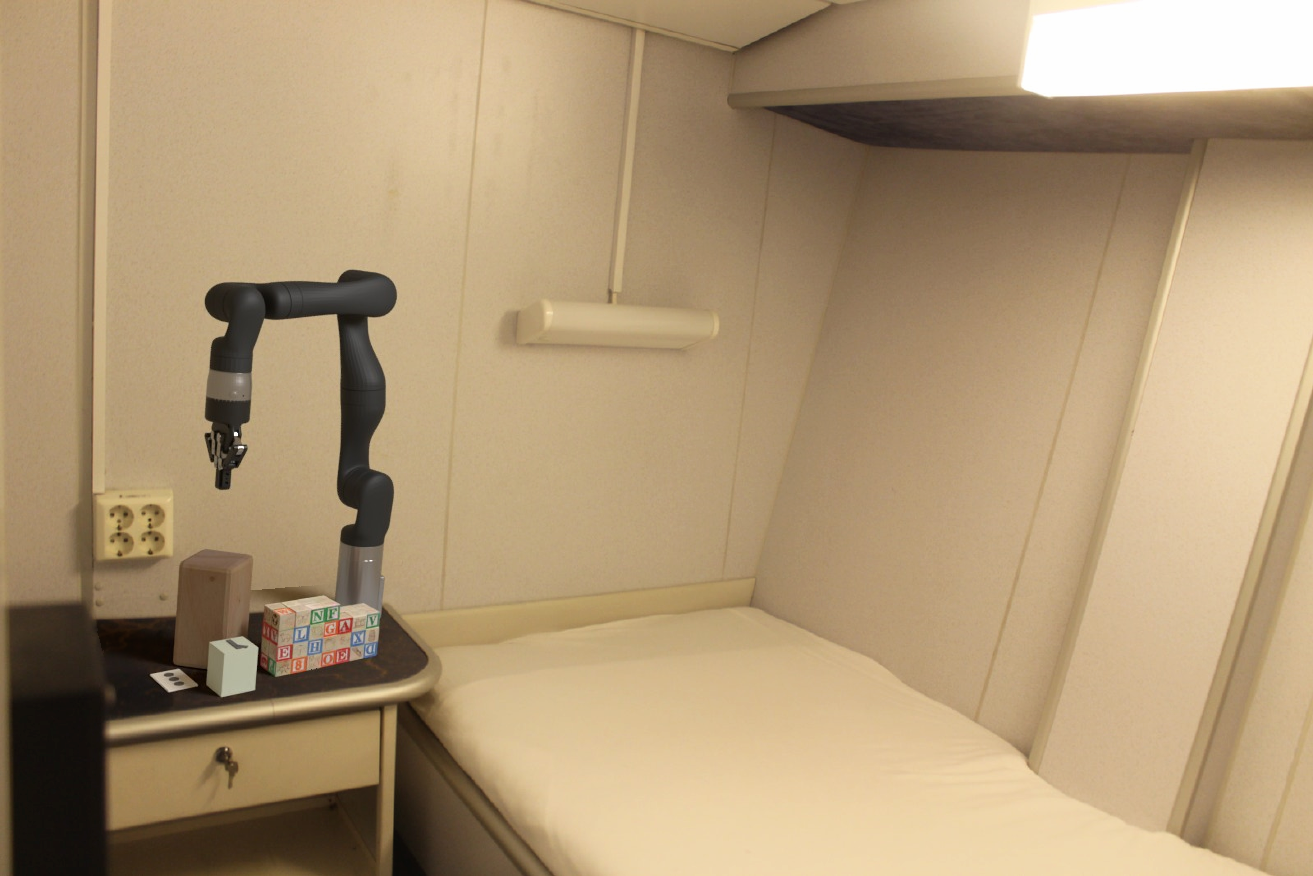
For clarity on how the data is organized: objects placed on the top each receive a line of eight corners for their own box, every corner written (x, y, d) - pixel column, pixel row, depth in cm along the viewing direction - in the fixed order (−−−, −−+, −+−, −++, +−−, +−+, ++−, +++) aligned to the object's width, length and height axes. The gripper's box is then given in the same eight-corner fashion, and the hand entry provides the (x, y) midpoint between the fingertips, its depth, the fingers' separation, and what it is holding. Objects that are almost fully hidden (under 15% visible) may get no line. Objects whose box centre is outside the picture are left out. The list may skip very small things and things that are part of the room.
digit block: (239, 678, 179) (242, 635, 177) (255, 690, 175) (258, 646, 173) (206, 685, 174) (209, 641, 173) (221, 697, 170) (224, 652, 169)
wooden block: (224, 673, 179) (232, 568, 177) (170, 666, 179) (177, 561, 176) (248, 653, 189) (255, 553, 186) (196, 647, 189) (203, 546, 186)
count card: (150, 675, 175) (150, 673, 174) (179, 670, 178) (179, 668, 178) (168, 692, 169) (168, 690, 169) (197, 686, 173) (197, 684, 173)
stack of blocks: (360, 646, 201) (365, 588, 199) (377, 656, 197) (382, 597, 195) (258, 666, 185) (263, 603, 183) (274, 678, 181) (279, 614, 179)
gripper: (266, 401, 175) (259, 496, 178) (233, 389, 184) (226, 479, 187) (224, 401, 170) (217, 498, 172) (192, 388, 179) (186, 481, 181)
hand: (222, 488), depth 180 cm, fingers closed
